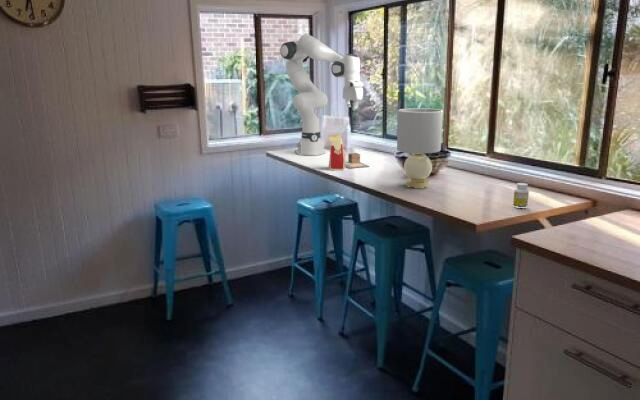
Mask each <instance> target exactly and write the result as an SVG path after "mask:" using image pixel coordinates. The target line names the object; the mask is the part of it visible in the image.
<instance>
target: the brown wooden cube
mask: <svg viewBox="0 0 640 400" xmlns="http://www.w3.org/2000/svg"><path fill="white" fill-rule="evenodd" d="M347 155H348V157H347V158H348V161H347V162H350V163H360V162H361V154H360V153H358V152H352V153H351V152H350V153H349V152H348V154H347Z"/></svg>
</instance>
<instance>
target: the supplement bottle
mask: <svg viewBox="0 0 640 400" xmlns="http://www.w3.org/2000/svg"><path fill="white" fill-rule="evenodd" d="M528 185H529V184H528V183H526V182H525V183H524V182H517V183H516V188H515V189H514V192H513V202H512V203H513V204H512V206H513V205H514V206H518V207H526V206H527V207H528V205H529V204H528V203H529V196H530V195H529V193H530V191H529V189H528Z"/></svg>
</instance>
